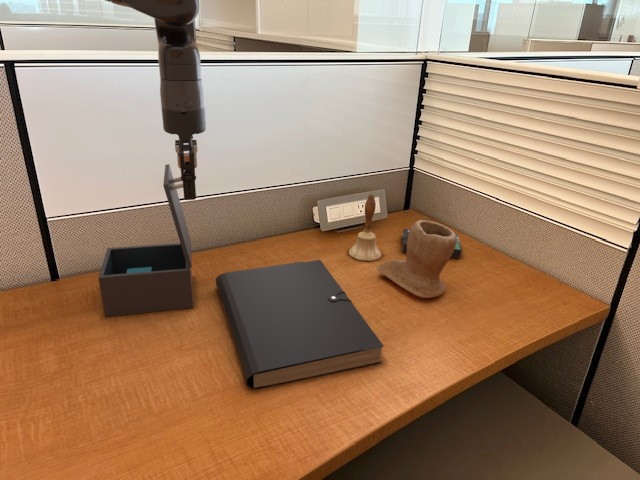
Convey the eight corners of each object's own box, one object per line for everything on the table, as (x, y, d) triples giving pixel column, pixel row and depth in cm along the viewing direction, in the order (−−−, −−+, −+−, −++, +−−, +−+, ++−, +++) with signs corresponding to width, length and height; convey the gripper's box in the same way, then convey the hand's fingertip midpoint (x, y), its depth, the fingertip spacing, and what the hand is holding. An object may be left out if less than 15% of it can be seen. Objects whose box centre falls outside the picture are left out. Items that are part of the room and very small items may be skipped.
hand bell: (371, 244, 127) (376, 187, 121) (387, 258, 121) (394, 198, 114) (343, 249, 124) (347, 191, 117) (358, 263, 117) (363, 202, 111)
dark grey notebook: (385, 343, 82) (245, 373, 75) (383, 362, 84) (246, 393, 77) (320, 258, 110) (215, 272, 103) (320, 273, 112) (216, 289, 104)
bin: (105, 317, 93) (98, 277, 89) (113, 284, 104) (107, 248, 100) (193, 308, 97) (190, 270, 93) (192, 277, 108) (189, 242, 104)
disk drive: (402, 253, 124) (461, 259, 122) (403, 244, 123) (462, 249, 121) (401, 237, 133) (456, 242, 131) (402, 228, 132) (458, 232, 130)
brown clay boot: (458, 292, 107) (470, 231, 101) (419, 306, 101) (429, 242, 95) (412, 264, 118) (420, 207, 112) (374, 275, 112) (381, 216, 106)
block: (128, 300, 97) (124, 280, 95) (130, 288, 101) (127, 268, 99) (152, 298, 98) (150, 278, 96) (154, 286, 102) (151, 266, 100)
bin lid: (163, 185, 85) (191, 179, 86) (165, 164, 96) (190, 159, 97) (187, 268, 93) (213, 262, 94) (187, 240, 104) (210, 235, 105)
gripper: (162, 98, 91) (170, 183, 99) (159, 112, 79) (169, 208, 86) (203, 98, 93) (208, 181, 100) (206, 112, 81) (211, 206, 88)
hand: (190, 193), depth 93 cm, fingers closed on bin lid, 5 cm apart
